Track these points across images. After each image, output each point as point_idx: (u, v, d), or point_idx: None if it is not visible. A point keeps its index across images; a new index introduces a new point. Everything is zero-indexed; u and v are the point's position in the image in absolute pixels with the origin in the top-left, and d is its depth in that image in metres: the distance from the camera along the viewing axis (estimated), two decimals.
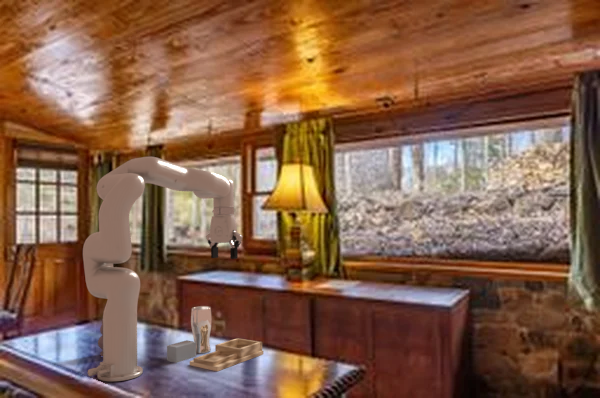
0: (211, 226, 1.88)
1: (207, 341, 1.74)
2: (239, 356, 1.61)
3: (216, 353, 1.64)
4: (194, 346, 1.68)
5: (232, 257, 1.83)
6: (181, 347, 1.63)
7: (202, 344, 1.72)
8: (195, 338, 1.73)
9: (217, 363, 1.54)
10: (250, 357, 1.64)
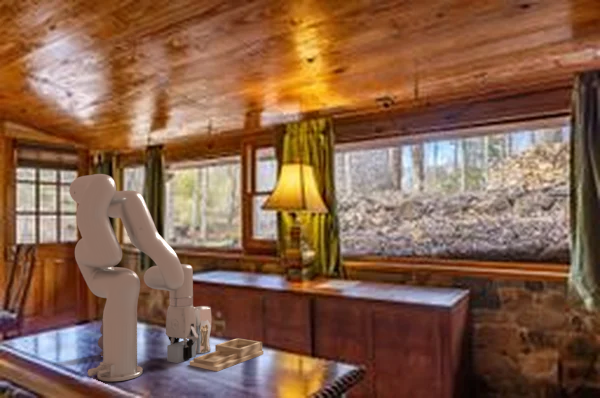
0: (167, 318, 1.66)
1: (207, 341, 1.74)
2: (239, 356, 1.61)
3: (216, 353, 1.64)
4: (194, 345, 1.68)
5: (185, 358, 1.63)
6: (182, 346, 1.63)
7: (202, 344, 1.72)
8: None
9: (217, 363, 1.54)
10: (250, 357, 1.64)
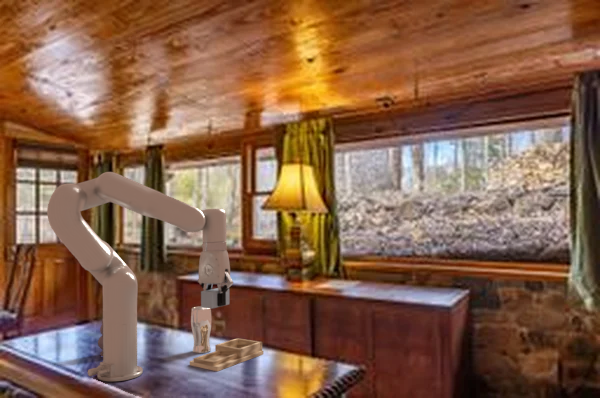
0: (200, 264, 1.60)
1: (207, 341, 1.74)
2: (239, 356, 1.61)
3: (216, 353, 1.64)
4: (228, 293, 1.62)
5: (219, 304, 1.57)
6: (216, 292, 1.57)
7: (202, 344, 1.72)
8: (195, 338, 1.73)
9: (217, 363, 1.54)
10: (250, 357, 1.64)
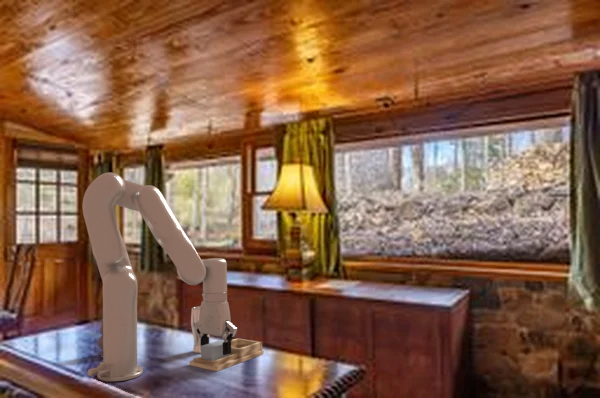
0: (200, 314, 1.60)
1: None
2: (239, 356, 1.61)
3: None
4: None
5: (225, 353, 1.56)
6: (216, 347, 1.56)
7: None
8: (195, 338, 1.73)
9: (217, 363, 1.54)
10: (250, 357, 1.64)
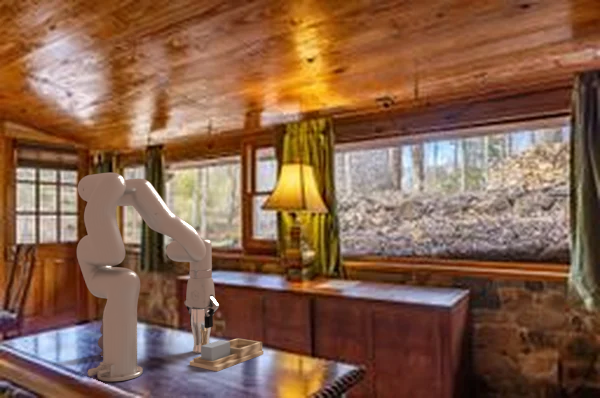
0: (187, 289, 1.76)
1: (207, 341, 1.74)
2: (239, 356, 1.61)
3: None
4: (228, 346, 1.61)
5: (207, 326, 1.72)
6: (216, 347, 1.56)
7: (202, 344, 1.72)
8: (195, 338, 1.73)
9: (217, 363, 1.54)
10: (250, 357, 1.64)
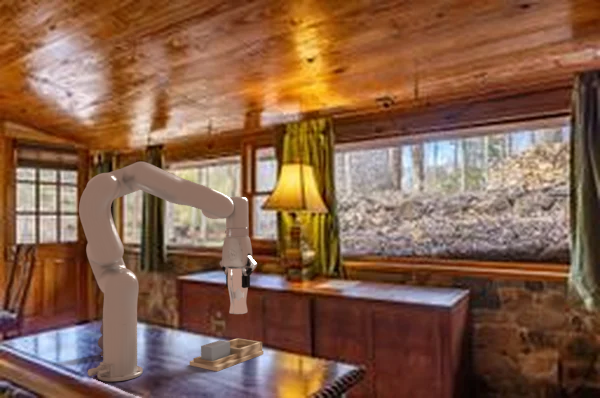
0: (223, 249, 1.70)
1: (244, 302, 1.68)
2: (239, 356, 1.61)
3: None
4: (228, 346, 1.61)
5: (244, 286, 1.66)
6: (216, 347, 1.56)
7: (240, 304, 1.66)
8: (232, 298, 1.67)
9: (217, 363, 1.54)
10: (250, 357, 1.64)
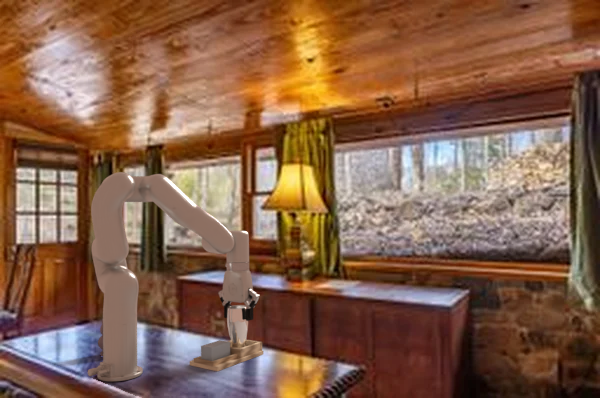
0: (224, 283, 1.69)
1: (244, 341, 1.67)
2: (239, 356, 1.61)
3: None
4: (228, 346, 1.61)
5: (247, 319, 1.65)
6: (216, 347, 1.56)
7: (240, 344, 1.66)
8: (232, 338, 1.66)
9: (217, 363, 1.54)
10: (250, 357, 1.64)
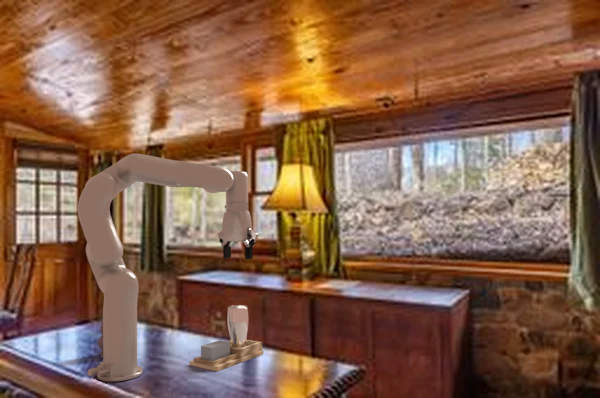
0: (223, 223, 1.70)
1: (244, 341, 1.67)
2: (239, 356, 1.61)
3: None
4: (228, 346, 1.61)
5: (247, 257, 1.66)
6: (216, 347, 1.56)
7: (240, 344, 1.66)
8: (232, 338, 1.66)
9: (217, 363, 1.54)
10: (250, 357, 1.64)
